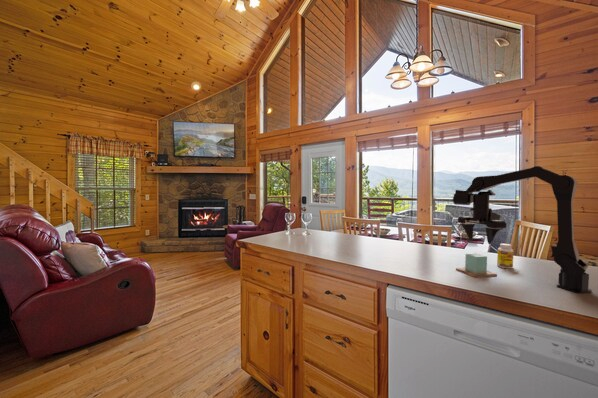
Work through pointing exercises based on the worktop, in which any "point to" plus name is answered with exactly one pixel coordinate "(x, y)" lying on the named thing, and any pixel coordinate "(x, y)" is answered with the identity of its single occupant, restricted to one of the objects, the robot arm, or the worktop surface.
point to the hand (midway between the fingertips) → (479, 241)
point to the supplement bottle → (505, 256)
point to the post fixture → (476, 273)
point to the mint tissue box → (476, 263)
